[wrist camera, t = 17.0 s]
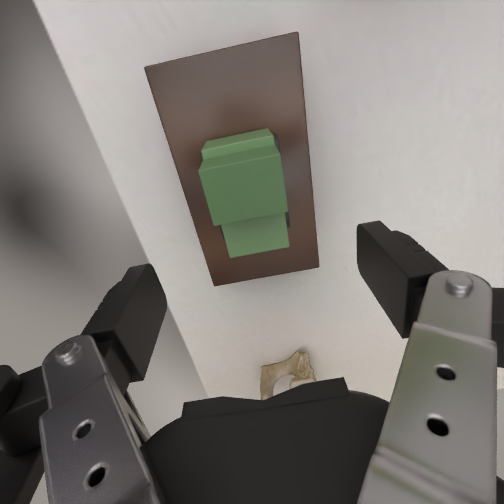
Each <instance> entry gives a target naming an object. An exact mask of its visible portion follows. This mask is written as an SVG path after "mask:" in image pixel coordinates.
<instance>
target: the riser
mask: <svg viewBox="0 0 504 504" xmlns="http://www.w3.org/2000/svg"><path fill="white" fill-rule="evenodd" d="M144 70H145V73H146V76H147V79H148V82H149V85H150V88H151V91H152V94H153V98H154V101H155V104H156V107H157V110H158V113H159V116H160V119H161V122H162V126H163V129H164V132H165V135H166V138H167V141H168V144H169V147H170V150H171V154H172V157H173V160H174V163H175V166H176V169H177V172H178V175H179V179H180V182H181V185H182V188H183V191H184V194H185V197H186V200H187V203H188V207H189V210H190V213H191V216H192V219H193V222H194V225H195V228H196V231H197V235H198V238H199V241H200V244H201V247H202V250H203V253H204V256H205V260H206V263H207V266H208V269H209V272H210V275H211V278H212V281H213V284H214V286H219V285H224V284H230V283H235V282H241V281H246V280H252V279H257V278H263V277H268V276H274V275H279V274H285V273H290V272H296V271H301V270H307V269H312V268H318V267H319V257H318V245H317V234H316V223H315V212H314V201H313V189H312V178H311V167H310V156H309V145H308V134H307V122H306V111H305V100H304V89H303V78H302V66H301V55H300V44H299V33H298V32H293V33H288V34H284V35H280V36H275V37H271V38H267V39H262V40H258V41H254V42H249V43H245V44H241V45H236V46H232V47H228V48H223V49H219V50H215V51H210V52H206V53H202V54H197V55H193V56H189V57H184V58H180V59H176V60H171V61H167V62H163V63H159V64H154V65H150V66H146V67H144ZM266 128H268V129H269V130H270V132H271V133H276V134H277V136H278V141H279V146H280V152H281V162H282V169H283V176H284V184H285V191H286V198H287V205H288V211H289V217H290V227H289V228H287V232H288V239H289V247H286V248H281V249H276V250H270V251H265V252H260V253H254V254H249V255H244V256H238V257H233V258H230V256H229V253H228V249H227V245H226V241H225V240H224V239H223V238H222V235H221V232H220V228H219V225H217V226H214V225H213V221H212V218H211V214H210V211H209V207H208V204H207V200H206V197H205V193H204V190H203V186H202V183H201V179H200V176H199V172H198V170H199V168H200V166H201V164H202V162H201V156H200V149H201V148H203V146H204V145H205V143H206V141H210V140H214V139H219V138H224V137H228V136H233V135H238V134H242V133H247V132H252V131H256V130H261V129H266Z"/></svg>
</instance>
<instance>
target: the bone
mask: <svg viewBox="0 0 504 504" xmlns="http://www.w3.org/2000/svg"><path fill="white" fill-rule="evenodd" d="M313 371H314V370H313V368H312V367H311V365H310V362H309V356H308V353H304V354H303V353H299V351H297V352H296V353H295V354H294V355H293V356H292V357H291V358H290V359H288V360H286V361H284V362H280V363H276V364H272V365H268V366H263V367H262V372H261V383H260V392H261V400H265V399H268V398H270V397H273V388H274V385H275V383H276V381H277V380H278V379H279V378H280V377H282V376H283V375H288V374H291V375H294V376H295V377H294V378H292V379H291V381H290V389H292V388H294V387H296V386H299V385H301V384H304V383H310V382H316V379H315V378H314V373H313Z"/></svg>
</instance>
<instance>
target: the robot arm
mask: <svg viewBox="0 0 504 504" xmlns="http://www.w3.org/2000/svg"><path fill="white" fill-rule="evenodd" d="M357 264H358V269H359V272H360V274H361V276H362V278H363V279H364V281H365V282H366V284H367V285H368V287H369V288H370V290H371V291H372V293H373V294H374V296H375V297H376V299H377V300H378V302H379V304H380V305H381V307H382V308H383V310H384V311H385V313H386V314H387V316H388V317H389V319H390V320H391V322H392V323H393V325H394V326H395V328H396V329H397V331H398V333H399V334H400V336H401V337H402V339H404V338H409V339H408V342H407V346H406V349H405V352H404V356H403V359H402V363H401V366H400V369H399V373H398V376H397V380H396V383H395V386H394V390H393V393H392V397H391V400H390V402H388V401H386V400H383V399H381V398H379V397H376V396H373V395H370V394H367V393H363V392H358V391H351V390H348V388H347V385H346V382H345V380H344V377H342V378H335V379H329V380H323V381H316V382H310V383H304V384H301V385H299V386H296V387H294V388H292V389H289V390H287V391H285V392H282V393H280V394H277V395H275V396H273V397H270V398H268V399H265V400H253V399H243V398H233V397H216V398H209V399H203V400H197V401H191V402H184V405H183V411H182V416H181V417H180V418H178V419H176V420H174V421H173V422H171V423H169V424H167V425H166V426H164V427H163V428H162V429H160V430H159V431H157V432H156V433H155V434H154V435H153V436H150V434H149V432H148V430H147V429H146V426H145V424H144V422H143V421H142V418H141V416H140V414H139V412H138V410H137V408H136V407H135V405H134V402H133V400H132V398H131V396H130V395H129V393H128V392H127V387H128V385H129V383H131V382H137V381H143V380H144V378H145V374H146V372H147V368H148V365H149V362H150V359H151V356H152V353H153V350H154V347H155V344H156V340H157V337H158V335H159V331H160V328H161V325H162V322H163V319H164V316H165V313H166V310H167V299H166V295H165V293H164V290H163V288H162V286H161V284H160V281H159V279H158V277H157V274H156V272H155V270H154V268H153V266H152V265H151V264H144V265H138V266H133V267H130V268H129V269H128V270H127V272H126V274H125V275H124V277H123V279H122V280H121V281H120V282H118V283H117V284H116V285H115V286H114V287H112V288H111V289H110V290H109V291H108V293H107V294H106V296H105V297H104V299H103V302H101V303H100V305H99V307H98V310H96V311H95V313H94V315H93V316H92V317H91V319H90V321H89V322H88V324H87V325H86V327H85V328H84V330H83V332H82V333H81V335H78V336H75V337H72V338H69V339H67V340H65V341H64V342H62V343H60V344H59V345H58V346H56V347H55V348H54V349H53V350H52V351H51V352H50V353H49V354H48V355H47V356H46V358H45V359H44V361H43V363H42V366H40V367H37V368H35V369H33V370H30V371H27V372H25V373H22V374H20V375H18V374H17V373H16V372H15V371H14V370H13V369H12V368H11V367H10V366H8V365H0V504H30V501H31V499H32V497H33V495H34V493H35V490H36V489H37V486H38V484H39V482H40V480H41V478H42V475H43V473H44V471H45V477H46V485H47V493H48V500H49V504H504V480H502V479H501V478H499V477H498V476H496V451H497V449H496V448H497V447H496V446H497V367H501V368H504V288H491V286H490V284H489V283H488V282H487V281H485V280H484V279H483V278H481V277H479V276H477V275H474V274H472V273H468V272H464V271H457V270H449V269H448V268H446V267H445V266H444V265H443V264H442V263H441V262H439V261H438V260H437V259H436V258H435V257H434V256H432V255H431V254H430V253H429V252H428V251H425V249H424V248H423V247H422V246H421V245H418V243H417V242H416V241H415V240H414V239H413V238H412V237H410V236H409V235H407V234H404V233H402V232H399V231H397V230H396V231H391V230H389V229H388V228H387V227H386V226H385V225H384V224H383V223H382V222H381V221H373V222H368V223H363V224H359V225H358V226H357Z"/></svg>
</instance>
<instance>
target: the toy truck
mask: <svg viewBox="0 0 504 504" xmlns="http://www.w3.org/2000/svg"><path fill="white" fill-rule="evenodd" d="M200 156H201V162H202V164H201V166H200V168H199V170H198V172H199V176H200V179H201V183H202V186H203V190H204V193H205V197H206V200H207V204H208V207H209V211H210V214H211V218H212V221H213V225H214V226H217V225H219V228H220V232H221V235H222V238H223V239H224V240H225V241H226V245H227V249H228V253H229V256H230V258H233V257H238V256H244V255H249V254H254V253H260V252H265V251H270V250H276V249H281V248H286V247H289V239H288V232H287V228H289V227H290V217H289V211H288V205H287V198H286V191H285V184H284V176H283V169H282V162H281V152H280V146H279V141H278V136H277V134H276V133H271V132H270V130H269V129H268V128H266V129H261V130H256V131H252V132H247V133H242V134H238V135H233V136H228V137H224V138H219V139H214V140H210V141H206V143H205V145H204V146H203V148H201V149H200Z"/></svg>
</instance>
